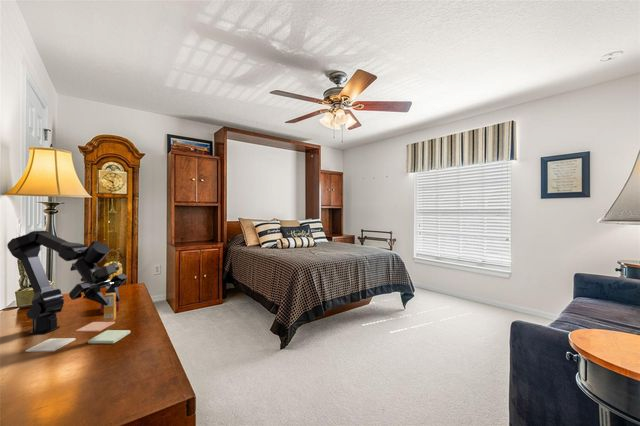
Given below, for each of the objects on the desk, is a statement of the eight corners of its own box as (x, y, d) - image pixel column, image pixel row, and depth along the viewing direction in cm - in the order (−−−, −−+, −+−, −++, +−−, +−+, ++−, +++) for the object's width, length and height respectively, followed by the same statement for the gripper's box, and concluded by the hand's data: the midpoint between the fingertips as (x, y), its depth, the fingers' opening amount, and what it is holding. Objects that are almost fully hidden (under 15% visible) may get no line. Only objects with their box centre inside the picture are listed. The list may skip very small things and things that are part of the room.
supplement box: (104, 319, 106) (106, 292, 106) (116, 318, 107) (117, 292, 108) (102, 322, 103) (103, 295, 103) (114, 321, 104) (115, 294, 105)
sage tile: (88, 343, 101) (88, 340, 101) (106, 332, 110) (107, 330, 110) (113, 343, 101) (113, 340, 101) (130, 332, 110) (130, 330, 110)
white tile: (25, 353, 94) (25, 350, 94) (50, 341, 103) (50, 338, 103) (53, 352, 95) (53, 349, 95) (75, 340, 104) (75, 338, 104)
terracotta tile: (75, 333, 110) (75, 330, 110) (92, 324, 119) (92, 321, 119) (99, 332, 111) (99, 330, 111) (114, 324, 120) (114, 321, 120)
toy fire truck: (100, 315, 128) (100, 292, 128) (100, 308, 138) (100, 287, 138) (119, 312, 132) (119, 290, 132) (118, 305, 142) (118, 285, 142)
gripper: (76, 261, 97) (102, 295, 95) (124, 253, 115) (146, 282, 113) (57, 282, 98) (82, 317, 96) (107, 271, 117) (129, 300, 115)
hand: (113, 302), depth 105 cm, fingers closed on supplement box, 4 cm apart
